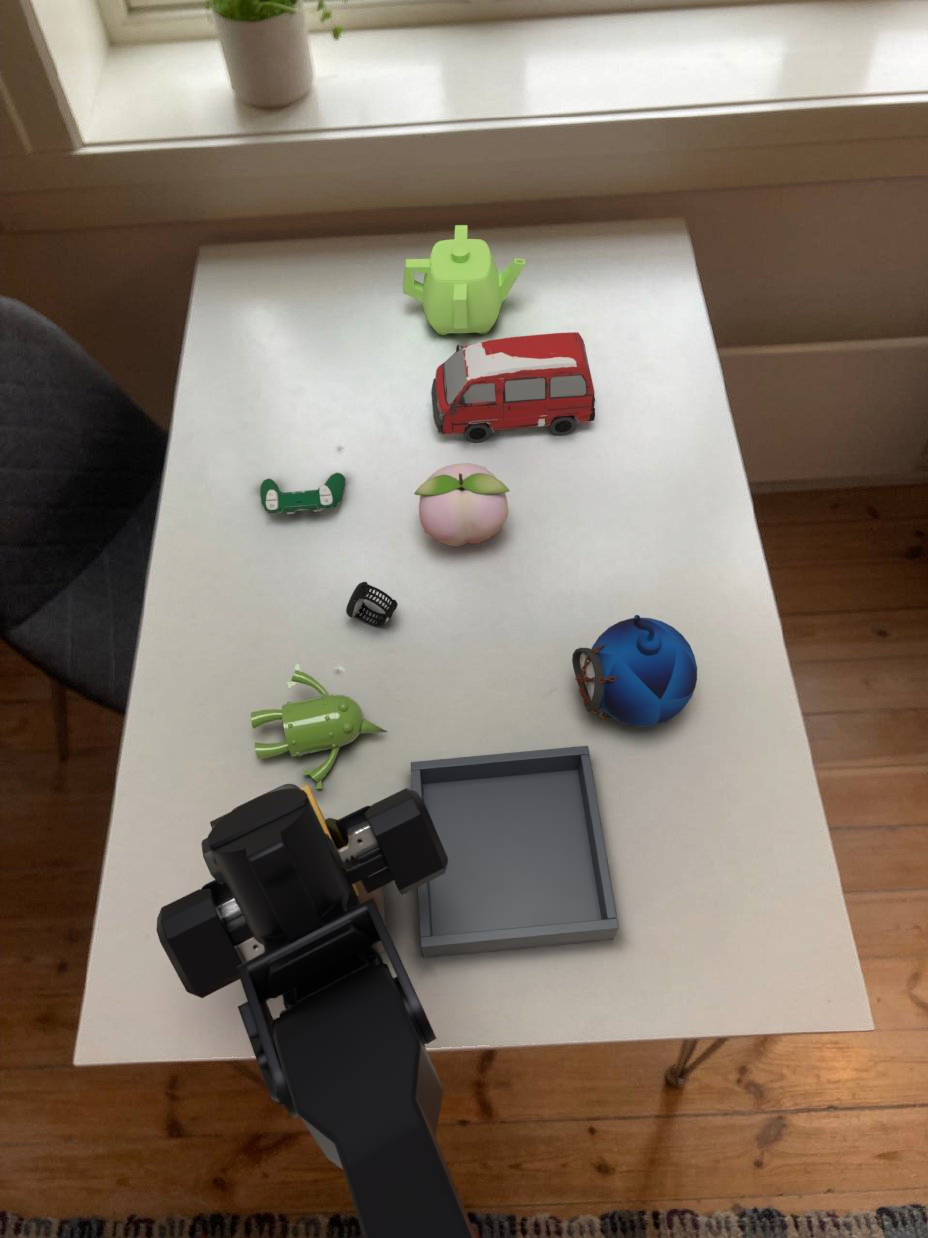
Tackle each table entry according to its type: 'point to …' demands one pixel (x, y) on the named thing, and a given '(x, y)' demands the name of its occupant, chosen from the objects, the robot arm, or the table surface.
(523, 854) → the tray
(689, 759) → the table surface
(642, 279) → the table surface
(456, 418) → the toy car
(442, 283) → the teapot
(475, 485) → the decorative fruit
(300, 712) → the character figure
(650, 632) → the bomb
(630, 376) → the table surface
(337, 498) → the gaming controller
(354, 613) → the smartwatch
